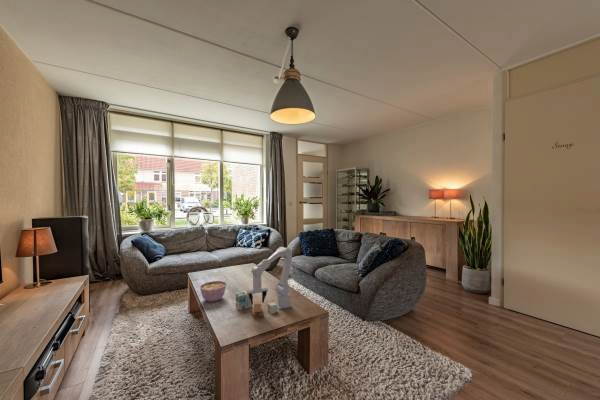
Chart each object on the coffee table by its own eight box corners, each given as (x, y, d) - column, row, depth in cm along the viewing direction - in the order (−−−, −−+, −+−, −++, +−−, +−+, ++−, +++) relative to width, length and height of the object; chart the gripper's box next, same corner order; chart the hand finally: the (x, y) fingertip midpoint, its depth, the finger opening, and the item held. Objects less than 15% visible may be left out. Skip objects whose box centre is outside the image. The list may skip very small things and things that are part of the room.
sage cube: (273, 309, 176) (273, 301, 176) (277, 311, 172) (277, 304, 172) (267, 311, 173) (267, 303, 173) (271, 313, 169) (271, 306, 169)
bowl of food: (200, 296, 198) (200, 282, 198) (225, 293, 206) (225, 279, 205) (199, 307, 180) (199, 291, 180) (227, 302, 187) (227, 288, 187)
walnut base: (261, 312, 172) (261, 307, 172) (263, 316, 165) (263, 311, 165) (251, 314, 169) (251, 309, 169) (253, 318, 163) (253, 313, 163)
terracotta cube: (260, 308, 170) (260, 300, 170) (261, 311, 166) (261, 303, 165) (253, 309, 169) (253, 301, 169) (253, 312, 165) (253, 304, 164)
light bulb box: (238, 310, 174) (238, 295, 174) (235, 307, 179) (235, 292, 179) (252, 306, 180) (252, 292, 180) (248, 303, 186) (248, 289, 185)
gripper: (266, 280, 173) (266, 299, 174) (245, 283, 168) (246, 302, 168) (268, 283, 167) (268, 303, 167) (247, 287, 162) (247, 306, 162)
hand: (257, 303), depth 167 cm, fingers open, 7 cm apart
